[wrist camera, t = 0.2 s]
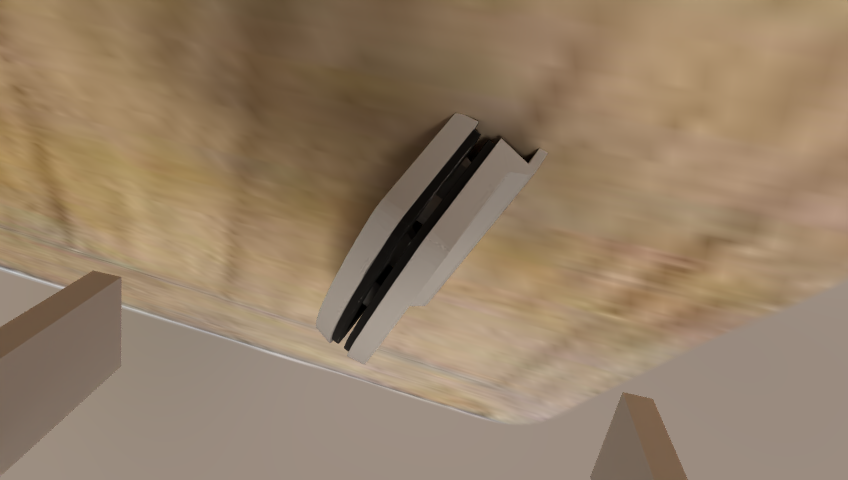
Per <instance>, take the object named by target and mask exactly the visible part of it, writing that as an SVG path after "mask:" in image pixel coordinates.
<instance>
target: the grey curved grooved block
mask: <svg viewBox="0 0 848 480" xmlns="http://www.w3.org/2000/svg"><path fill="white" fill-rule="evenodd" d="M478 123H479V122H478V121H476V120H474V119H472V118H470V117H468V116H466V115H463V114H458V113H455V114H454V115H453V116H452V117H451V118H450V120H449V121H448V122H447V123H446V124H445V126H444V127H443V128H442V129H441V130H440V131H439V133H438V134H437V135H436V136H435V137H434V139H433V140H432V141H431V142H430V143H429V145H428V146H427V147H426V148H425V149H424V150H423V152H422V153H421V154H420V155H419V156H418V158H417V159H416V160H415V161H414V162H413V163H412V165H411V166H410V167H409V168H408V169H407V171H406V172H405V173H404V174H403V175H402V176H401V178H400V179H399V180H398V181H397V182H396V184H395V185H394V186H393V187H392V188H391V190H390V191H389V192H388V193H387V194H386V195H385V197H384V198H383V199H382V200H381V201H380V203H379V204H378V205H377V207H376V208H375V210H374V211H373V212H372V214H371V216H370V217H369V219H368V221H367V222H366V224H365V226H364V227H363V229H362V231H361V232H360V234H359V236H358V237H357V239H356V241H355V242H354V244H353V246H352V248H351V249H350V251H349V253H348V254H347V256H346V258H345V260H344V262H343V264H342V265H341V267H340V269H339V271H338V273H337V275H336V277H335V278H334V280H333V282H332V284H331V286H330V288H329V290H328V292H327V295H326V297H325V299H324V301H323V303H322V306H321V308H320V310H319V314H318V317H317V320H316V328H317V329H318V330H319V331H320V332H321V334H322V335H323V336H324V337H325V338H326V340H327V341H328V342H329V343H331V342H332V341H333V340H334V341H335V342H336V343H338V344H339V343H340V341H341V340H342V339H343V338H344V337H345V335H346V334H347V333H348V332H349V330H350V329H351V328H352V327H353V325H354V324H355V323H356V321H357V320H358V319H359V318H360V316H361V315H362V316H361V318H360V319H359V321H358V322H357V324H356V326H355V327H354V329H353V331H352V332H351V334H350V336H349V338H348V339H347V341H346V344H345V346H344V349H346V350H347V351H349V352H348V354H347V356H348V357H350V358H352V359H354V360H356V361H358V362H360V363H362V364H365V363H366V362H367V361H368V360H369V359H370V357H371V356H372V355H373V353H374V352H375V351H376V350H377V348H378V347H379V346H380V344H381V343H382V342H383V340H384V339H385V338H386V337H387V335H388V334H389V333H390V331H391V330H392V329H393V327H394V326H395V325H396V323H397V322H398V321H399V319H400V318H401V317H402V315H403V314H404V313H405V311H406V310H407V309H408V307H409V306H425V305H427V304H428V303H429V301H430V300H431V299H432V298H433V297H434V295H435V294H436V293H437V292H438V291H439V289H440V288H441V287H442V286H443V284H444V283H445V282H446V281H447V280H448V278H449V277H450V276H451V275H452V273H453V272H454V271H455V270H456V269H457V267H458V266H459V265H460V264H461V262H462V261H463V260H464V259H465V258H466V256H467V255H468V254H469V253H470V252H471V250H472V249H473V248H474V247H475V245H476V244H477V243H478V242H479V241H480V239H481V238H482V237H483V236H484V234H485V233H486V232H487V231H488V230H489V228H490V227H491V226H492V225H493V223H494V222H495V221H496V220H497V219H498V217H499V216H500V215H501V214H502V213H503V211H504V210H505V209H506V208H507V206H508V205H509V204H510V203H511V202H512V200H513V199H514V198H515V197H516V195H517V194H518V193H519V192H520V191H521V189H522V188H523V187H524V186H525V185H526V183H527V182H528V181H529V180H530V178H531V177H532V176H533V175H534V174H535V172H536V171H537V169H538V168H539V166H540V165H541V163H542V162H543V160H544V159H545V157H546V156H547V154H548V153H547V152H546V151H544V150H542V149H541V148H539V150H538V151H537V152H536V153H535V155H534V156H533V157H532V158H531V160H530V161H529V162H528V163H527V162H526V161H525V160H524V159H523V158H522V157H521V156H520V155H518V154H517V153H516V152H515V151H514V150H513V149H512V148H511V147H510V146H509V145H508V144H507V143H506V142H505V141H504V140H503V139H502V138H501V139H500V140H499V142H498V143H497V144H496V145H495V144H494V143H492V142H491V141H490V140H488V142H487V143H486V144H485V146H484V147H483V148H482V149H481V151H480V152H479V153H478V155H477V156H476V157H475V158H474V160H473V161H472V162H470V161H469V159H468V157H467V156H468V154H469V153H470V151H471V149H472V148H473V146H474V145H475V143H476V141H477V140H478V138H479V137H480V135H481V134H480V133H478V132H477V131H476V130H474V129H475V128H476V126H477V124H478ZM416 220H417V221H419V222H420V223H421V224H423V226H422V227H421V228H420V229H419V231H418V232H417V234H416V233H415V231H414V230H413V224H414V223H415V221H416ZM392 266H394V267H392Z"/></svg>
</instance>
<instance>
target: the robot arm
mask: <svg viewBox="0 0 848 480" xmlns="http://www.w3.org/2000/svg"><path fill="white" fill-rule="evenodd" d="M120 367H121V277H119V276H115V275H110V274H106V273H101V272H97V271H92V272H90V273H88V274H87V275H85V276H83V277H82V278H80V279H79V280H77V281H75V282H74V283H72V284H70V285H69V286H67V287H65V288H64V289H62V290H61V291H59V292H57V293H56V294H54V295H52V296H51V297H49V298H47V299H46V300H44V301H42V302H41V303H39V304H38V305H36V306H34V307H33V308H31V309H29V310H28V311H26V312H24V313H23V314H21V315H20V316H18V317H16V318H15V319H13V320H11V321H10V322H8V323H7V324H5V325H3V326H2V327H0V476H1V475H2V474H4V473H5V472H6V471H7V470H8V469H9V468H10V467H11V466H12V465H13V464H14V463H16V462H17V461H18V460H19V459H20V458H21V457H22V456H23V455H24V454H25V453H27V452H28V451H29V450H30V449H31V448H32V447H33V446H34V445H35V444H36V443H37V442H39V441H40V440H41V439H42V438H43V437H44V436H45V435H46V434H47V433H48V432H49V431H51V430H52V429H53V428H54V427H55V426H56V425H57V424H58V423H59V422H60V421H61V420H63V419H64V418H65V417H66V416H67V415H68V414H69V413H70V412H71V411H73V410H74V409H75V408H76V407H77V406H78V405H79V404H80V403H81V402H82V401H83V400H85V399H86V398H87V397H88V396H89V395H90V394H91V393H92V392H93V391H94V390H96V389H97V387H99V386H100V385H101V384H102V383H103V382H104V381H105V380H106V379H108V378H109V377H110V376H111V375H112V374H113V373H114V372H115V371H116V370H117V369H118V368H120ZM590 477H591V480H688V479H687V477H686V474H685V472H684V470H683V467H682V465H681V463H680V460H679V458H678V456H677V454H676V451H675V449H674V447H673V444H672V442H671V440H670V438H669V435H668V433H667V430H666V428H665V426H664V424H663V421H662V419H661V417H660V414H659V412H658V410H657V407H656V405H655V403H654V400H653V399H650V398H646V397H641V396H637V395H633V394H628V393H624V392H623V393H622V395H621V398H620V401H619V403H618V406H617V408H616V411H615V414H614V416H613V419H612V422H611V424H610V427H609V429H608V432H607V435H606V438H605V440H604V442H603V445H602V448H601V451H600V453H599V456H598V458H597V461H596V463H595V466H594V469H593V471H592V474H591V476H590Z"/></svg>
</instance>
